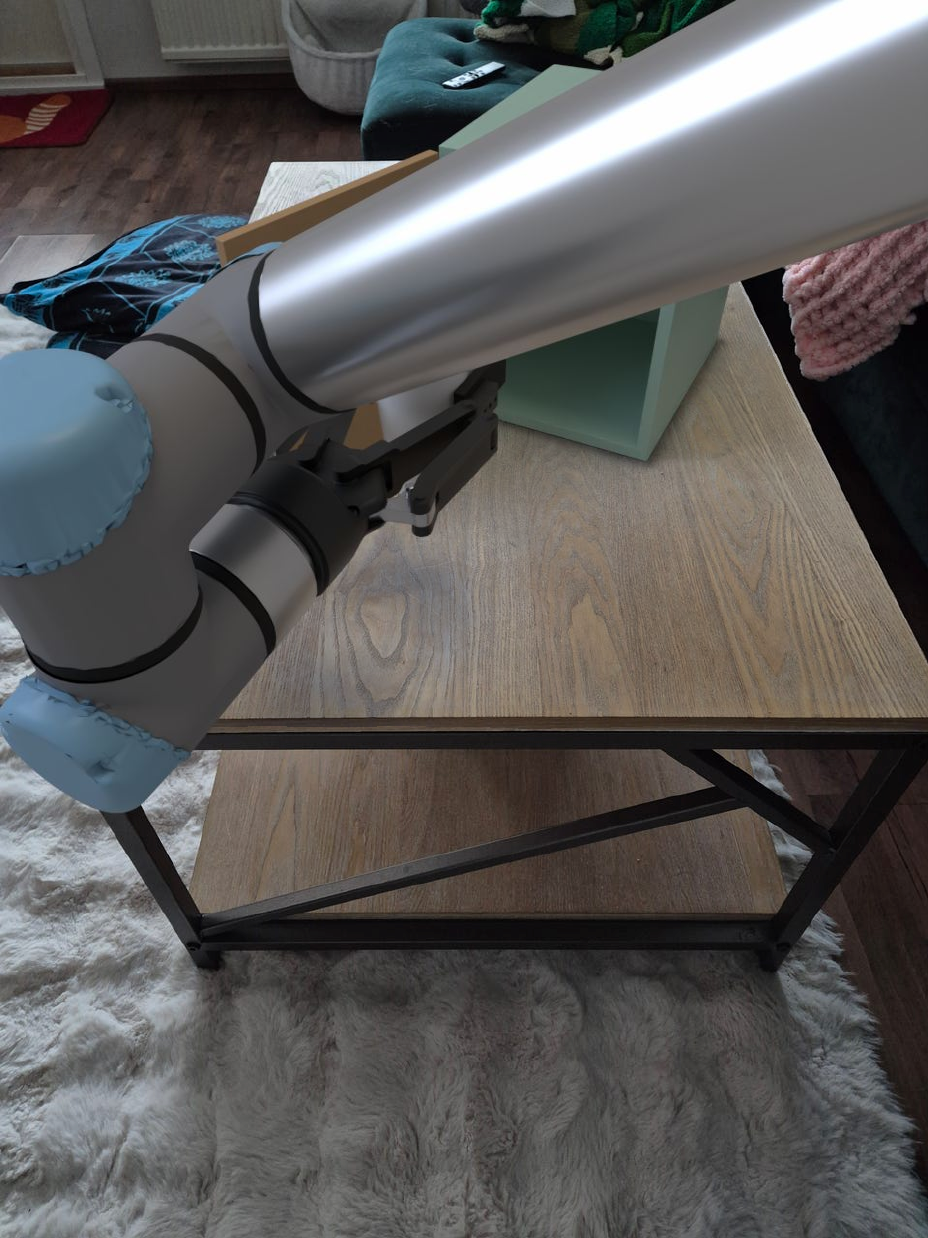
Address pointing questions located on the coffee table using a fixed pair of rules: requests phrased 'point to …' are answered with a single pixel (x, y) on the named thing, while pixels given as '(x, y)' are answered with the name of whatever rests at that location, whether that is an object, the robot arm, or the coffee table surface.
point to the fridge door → (305, 217)
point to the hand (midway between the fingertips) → (455, 351)
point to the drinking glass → (416, 408)
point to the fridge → (601, 340)
